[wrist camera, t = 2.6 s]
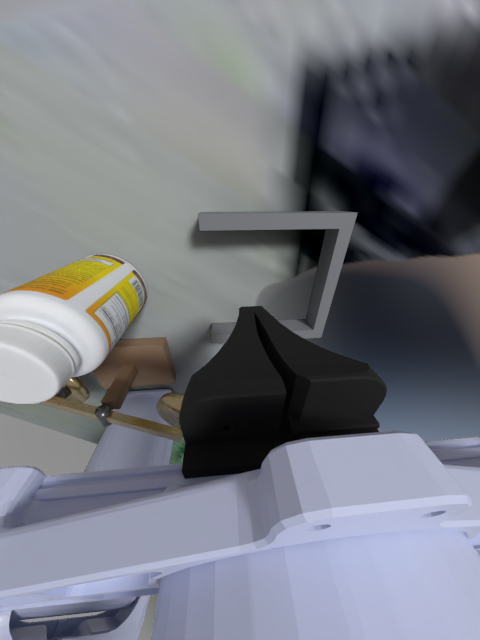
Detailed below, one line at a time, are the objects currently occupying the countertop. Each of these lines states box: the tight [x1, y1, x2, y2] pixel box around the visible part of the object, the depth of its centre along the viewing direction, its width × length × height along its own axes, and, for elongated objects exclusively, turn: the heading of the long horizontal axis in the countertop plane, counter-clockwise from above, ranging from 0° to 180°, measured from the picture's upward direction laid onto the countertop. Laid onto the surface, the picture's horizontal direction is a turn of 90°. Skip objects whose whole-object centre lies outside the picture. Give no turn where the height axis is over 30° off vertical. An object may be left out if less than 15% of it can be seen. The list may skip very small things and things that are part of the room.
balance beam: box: [39, 377, 184, 442], centre depth 16 cm, size 5×18×2 cm, turn 90°
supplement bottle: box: [0, 254, 147, 404], centre depth 12 cm, size 6×6×10 cm
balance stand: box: [93, 337, 176, 410], centre depth 19 cm, size 6×8×6 cm
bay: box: [198, 211, 357, 343], centre depth 17 cm, size 11×11×2 cm
